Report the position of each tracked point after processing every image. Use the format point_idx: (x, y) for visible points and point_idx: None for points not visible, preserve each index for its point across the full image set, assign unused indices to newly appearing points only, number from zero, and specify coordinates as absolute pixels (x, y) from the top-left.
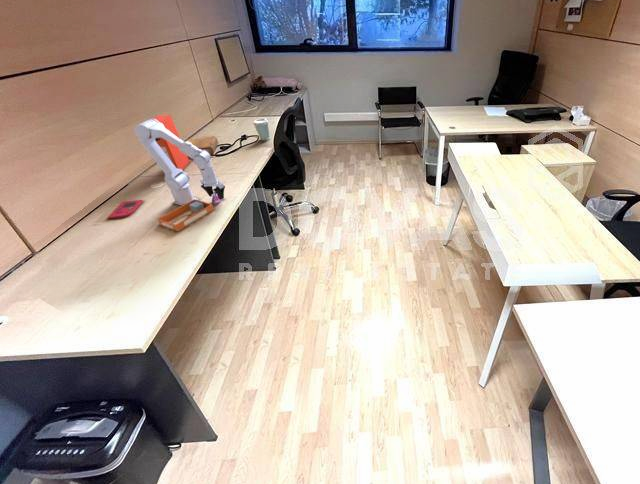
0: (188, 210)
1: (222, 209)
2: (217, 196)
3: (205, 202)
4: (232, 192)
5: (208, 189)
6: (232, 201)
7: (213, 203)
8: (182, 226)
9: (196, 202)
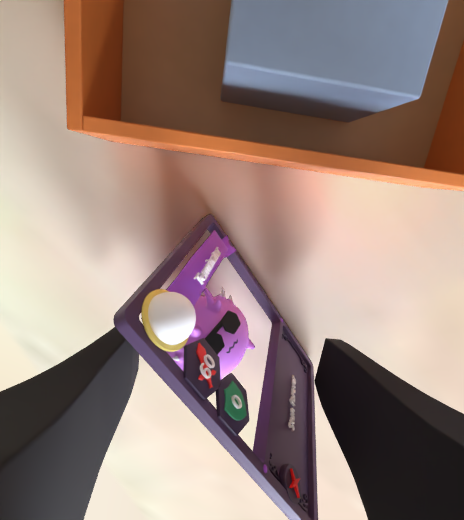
0: (449, 16)
1: (16, 184)
2: (175, 352)
3: (239, 149)
4: (214, 475)
5: (389, 445)
6: (65, 359)
7: (231, 258)
8: None
9: (384, 57)
